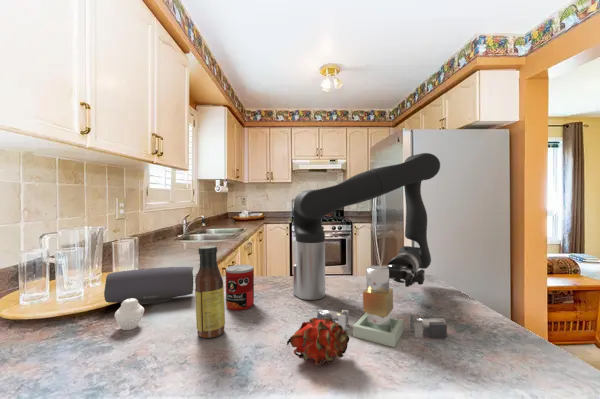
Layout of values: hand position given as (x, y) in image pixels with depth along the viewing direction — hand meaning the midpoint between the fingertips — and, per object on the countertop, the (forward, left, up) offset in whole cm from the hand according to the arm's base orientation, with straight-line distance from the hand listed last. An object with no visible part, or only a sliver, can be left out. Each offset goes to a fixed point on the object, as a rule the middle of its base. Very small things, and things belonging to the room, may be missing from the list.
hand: (389, 280), depth 73 cm
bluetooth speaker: (-64, -24, -10) cm, 69 cm away
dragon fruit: (-7, -26, -10) cm, 28 cm away
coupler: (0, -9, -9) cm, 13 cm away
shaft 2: (+9, -3, -10) cm, 14 cm away
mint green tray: (0, -9, -10) cm, 13 cm away
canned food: (-39, -13, -10) cm, 42 cm away
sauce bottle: (-33, -29, -10) cm, 45 cm away
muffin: (-52, -37, -10) cm, 64 cm away
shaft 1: (-11, -11, -10) cm, 18 cm away
